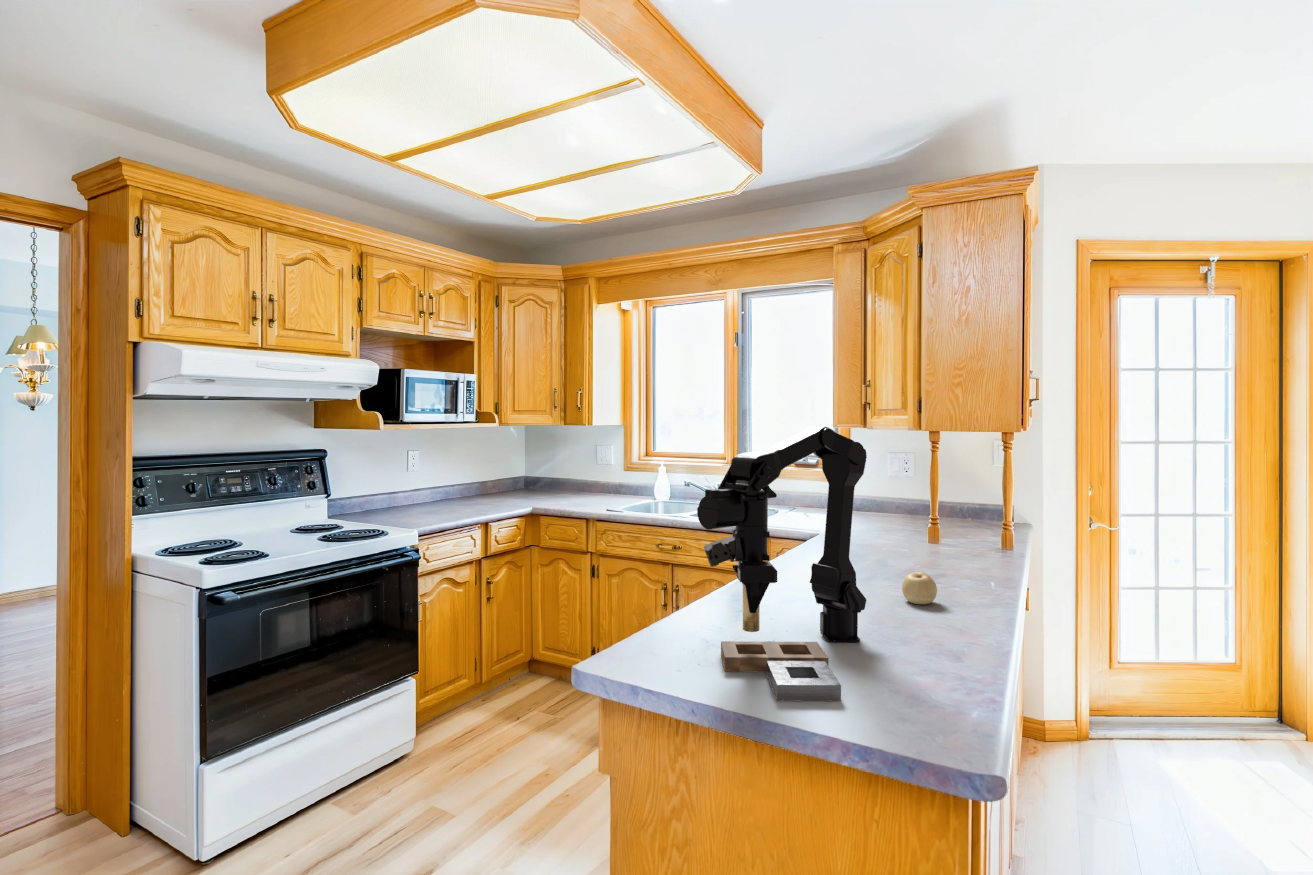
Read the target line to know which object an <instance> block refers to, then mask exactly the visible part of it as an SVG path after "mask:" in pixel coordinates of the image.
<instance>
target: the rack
mask: <svg viewBox="0 0 1313 875" xmlns="http://www.w3.org/2000/svg"><path fill="white" fill-rule="evenodd" d="M720 656H721V660H722V665H723V668H724V671H725V672H745V673H746V672H748V673H749V672H751V673H752V672H757V673H758V672H760V673H761V672H764V673H765V672H766V673H767V661H825V662H826V663H827V665H828V666H829V657H828V655H827V654H826V652H825V651H824V649H823V647H822V646H821V645H820V643H819V642H818V641H745V640H744V641H743V640H742V641H738V640H737V641H732V640H730V641H727V640H726V641H722V640H721V641H720Z"/></svg>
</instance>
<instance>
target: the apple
mask: <svg viewBox="0 0 1313 875" xmlns="http://www.w3.org/2000/svg"><path fill="white" fill-rule="evenodd" d="M901 590H902V591H901V592H902V595H903V596H904V598H905V599H906V600H907V602H909V603H911V604H914V605H928V604H931V603H932V602H934V601H935V599H936V597H937V594H938V587H937V584H936V582H935V580H934V579H933V578H932V577H931V575H928V574H927V573H925V572H922V571H915V572H912V573H909V574H908V575H906V576H905V578H904V579H903V581H902V586H901Z"/></svg>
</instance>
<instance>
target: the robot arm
mask: <svg viewBox="0 0 1313 875" xmlns="http://www.w3.org/2000/svg"><path fill="white" fill-rule="evenodd" d="M812 454H813V455H814V456H815V457H817V458H818V459H820V460H821V470H822V473H823V475H824V476H825V478H826V480H827V483H828V490H827V491H828V494H827V504H826V517H825V530H824V540H823V541H824V543H823V554H822V556H821V558H820V559H819V560H818V562H817V563H815V562H813V563H812V565H811V567H810V568H811V575H810V579H809V583H810V584H811V590H812V592H813V594H814V598H815V601H816V602H815V603H816V604H819V605H822V611H820V613H819V631H820V633H821V634H822V636H823V637H824V638H825V640H826V641H827V642H833V643H834V642H835V643H836V642H837V643H841V642H842V643H845V642H846V643H847V642H852V643H853V642H857V643H859V642H861V638H860V637H859V636H858V631H859V630H858V626H859V624H858V619H859V618H858V615H859V614H860V613H862V611H864V610H866V604H867V598H866V597H865V595H864V594H863V593H862V592H861V590H860V588H858V586H857V572H856V570H855V568H854V566H853V564H852V561H851V560H850V548H851V536H852V523H853V511H854V499H855V498H854V497H855V496H854V495H855V488H856V487H855V486H857V483H859V481H860V479H861V478H862V476H864V473H865V468H866V462H867V456H868V455H867V450H866V449H865V448H864V446H863V445H862V444H861V443H860V442H858V441H854V439H851V438H849V437H847V436H844V435H841V434H840V433H837V432H836V431H835V430H833V429H832V428H830V427H827V426H809V427H806V429H805V430H803V431H802V432H800V433H797V434H795V435H793V436H791V437H788V438H787V439H785V440H783V441H781V442H778V443H777V444H775V445H773V446H770V447H768V448H765V449H759V450H753V451H752V450H751V451H747V452H743V453H737V454H736V455H735V456H733V458H732V459H731V463H730V466H729V468H728V470H727V472H726V474H725V475H724V477H723V479H722V481H721V483H720V484H719V486H718V488H717V489H713V488H707V489H705V491H704V497H702V498H701V499H700V500H699V503H698V507H697V508H696V510H697V511H696V512H697V513H696V514H697V518H698V521H699V523H700V524H701V526H702V528H704V529H706V530H709V531H710V530H717V529H722V528H723V529H724V528H733V529H732V535H731V536H727V537H724V538H721V539H719V540H715V541H713V542H709V543H708V544H706V545H704V546H703V550H704V553H705V555H706V557H707V560H708V563H709V565H710V567H716V566H719V564H722V563H724V562H727V561H730V562H731V563H732V562H736V564H732V565H731V567H732V569H733V571H734V572H735V573H736V578H737V580H738V581H739V583H742V586H743V584H744V585H745V590H746V595H747V601H748V607H749V612H750V613H756V611H757V609H758V607H759V605H761V602H762V600H763V598H764V596H765V593H766V591H767V590H768V588H769V585H770V584H776V583H778V570H777V569H776V567H775V566H774V565H773V564H772V563H771V562H770V556H771V555H770V554H769V553H768V552H769V551H768V547H769V546H768V541H769V539H768V538H770V537H771V536H770V530H769V529H768V527H769V526H768V525H769V523H768V520H769V518H768V515H769V514H768V512H769V511H768V509H769V506H768V499H775V498H777V493H776V492H775V491H774V490H772V488H771V487H770V486H769V485H771V484H772V483H773V482H774V481H775V480H777V479H778V478H779V477H780V475H781V473H782V471H783V470H784V469H786V468H787V467H789V466H791V465H793V464H794V463H797V462H800V461H801V460H802V459H805V458H807V457H809V456H810V455H812Z"/></svg>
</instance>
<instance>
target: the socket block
mask: <svg viewBox="0 0 1313 875" xmlns="http://www.w3.org/2000/svg"><path fill="white" fill-rule="evenodd" d="M766 678H767V680H768V682H769V685H770V686H771V689H772V692H773V695H774V697H775V699H776V702H778V701H779V702H780V701H782V702H792V701H793V702H815V701H816V702H842V684H841V682H840V681H839V680H838V678H837V677H836V675H835V674H834V673H833V671H832V670H831V668H830V667H829V664H828V665H827V663H826V662H825V661H767V672H766Z"/></svg>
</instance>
